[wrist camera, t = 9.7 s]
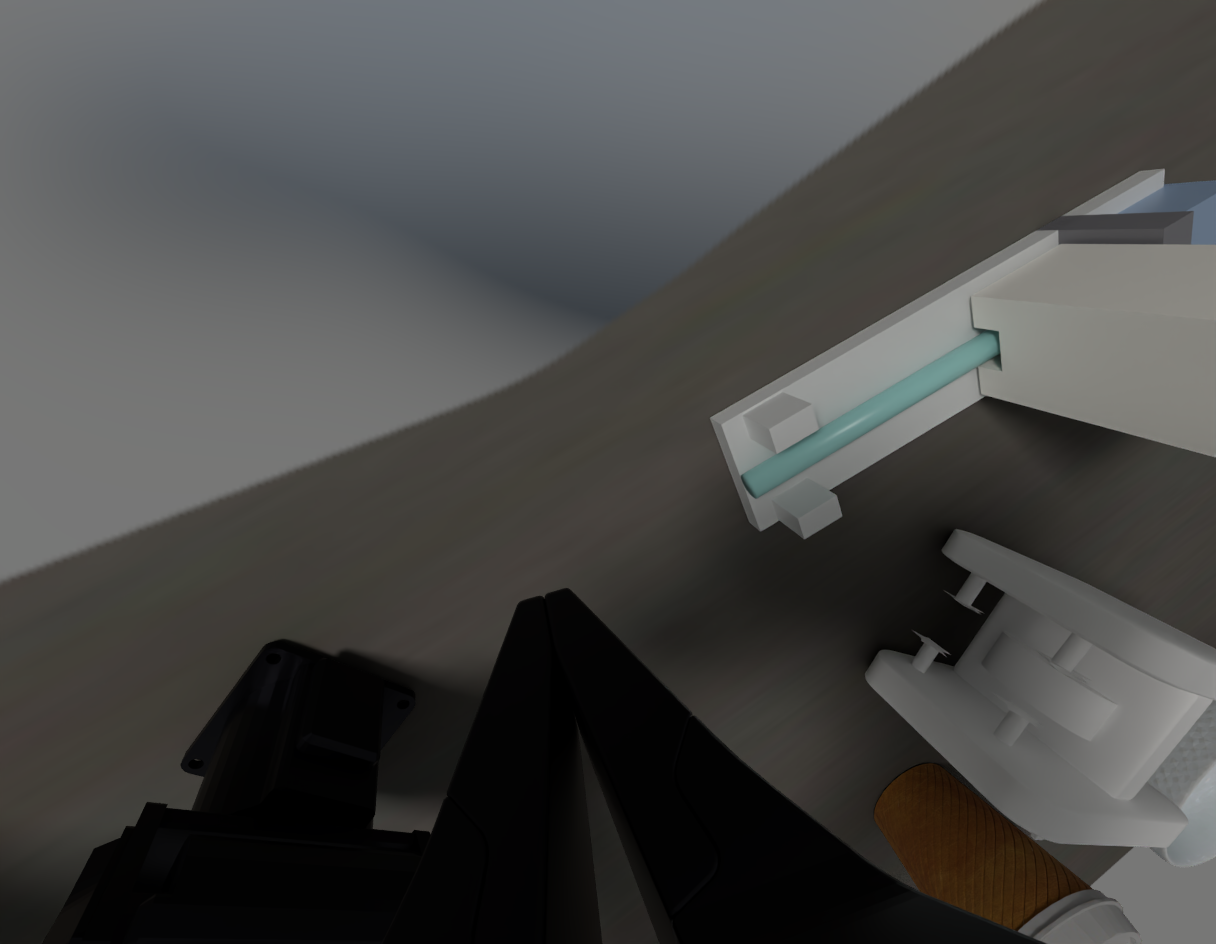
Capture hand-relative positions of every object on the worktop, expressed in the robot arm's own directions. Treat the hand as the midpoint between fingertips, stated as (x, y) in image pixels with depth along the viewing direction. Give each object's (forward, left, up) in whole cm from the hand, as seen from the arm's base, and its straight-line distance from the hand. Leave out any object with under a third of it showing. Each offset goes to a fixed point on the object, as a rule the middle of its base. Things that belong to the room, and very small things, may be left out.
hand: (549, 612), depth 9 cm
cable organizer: (+6, -32, -14) cm, 35 cm away
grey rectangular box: (+18, -17, -12) cm, 28 cm away
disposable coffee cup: (-6, -42, -13) cm, 45 cm away
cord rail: (+15, -16, -13) cm, 26 cm away
